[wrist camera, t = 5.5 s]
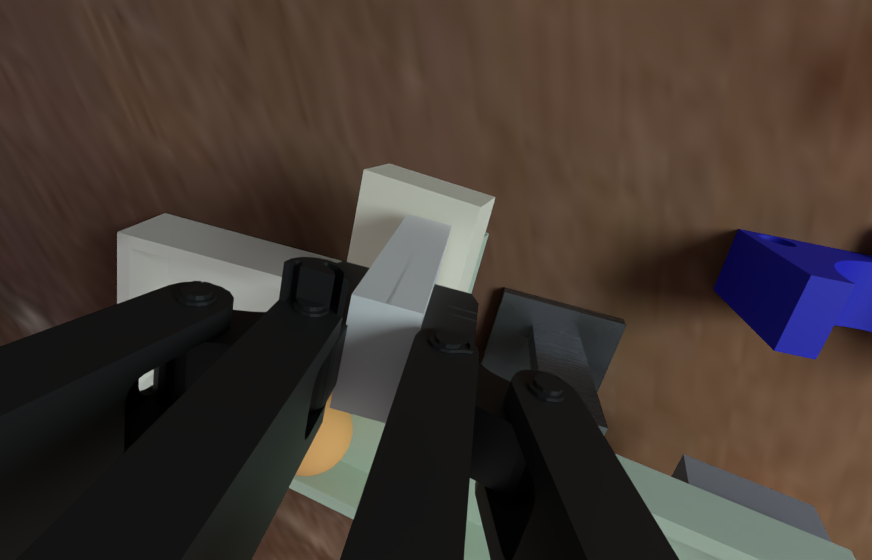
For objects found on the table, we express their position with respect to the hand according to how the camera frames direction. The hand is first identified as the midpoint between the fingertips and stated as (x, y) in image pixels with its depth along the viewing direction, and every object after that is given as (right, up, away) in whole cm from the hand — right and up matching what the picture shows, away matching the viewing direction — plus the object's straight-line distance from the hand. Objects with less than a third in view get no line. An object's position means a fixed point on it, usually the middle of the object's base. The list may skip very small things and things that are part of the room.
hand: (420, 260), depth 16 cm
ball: (-5, -7, +5) cm, 9 cm away
